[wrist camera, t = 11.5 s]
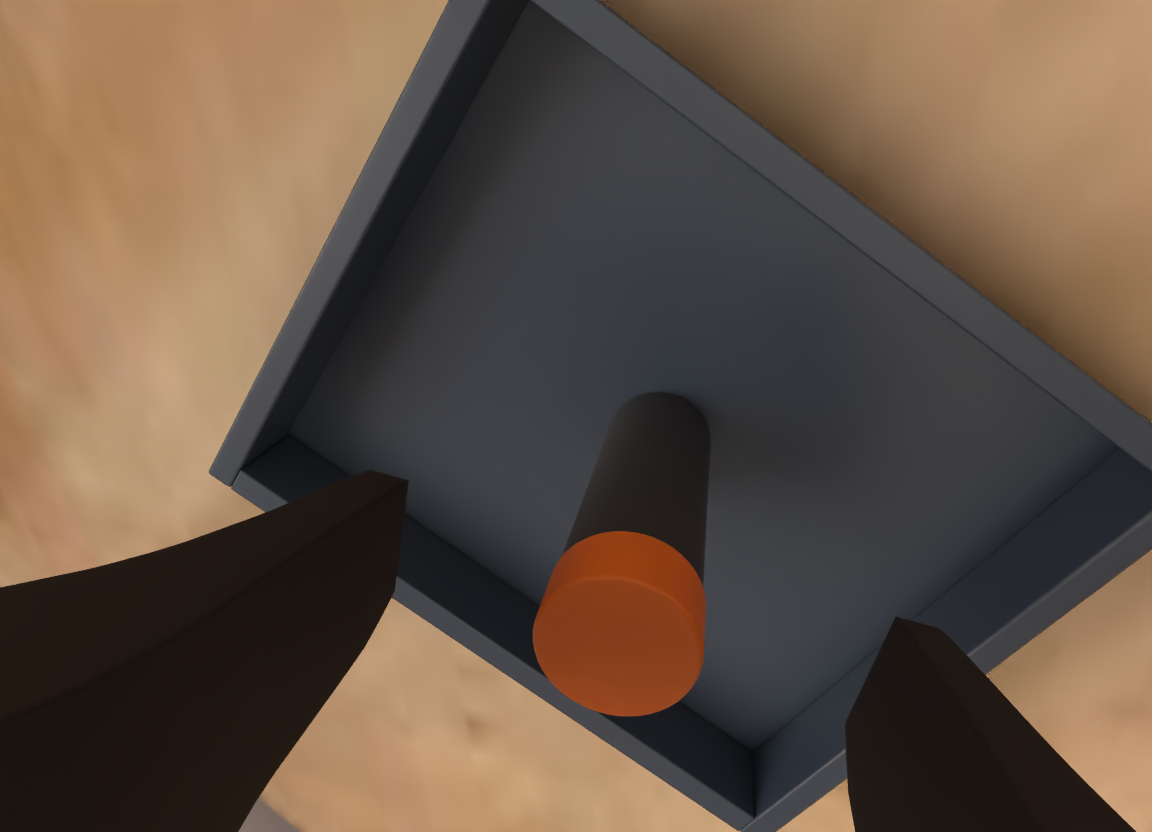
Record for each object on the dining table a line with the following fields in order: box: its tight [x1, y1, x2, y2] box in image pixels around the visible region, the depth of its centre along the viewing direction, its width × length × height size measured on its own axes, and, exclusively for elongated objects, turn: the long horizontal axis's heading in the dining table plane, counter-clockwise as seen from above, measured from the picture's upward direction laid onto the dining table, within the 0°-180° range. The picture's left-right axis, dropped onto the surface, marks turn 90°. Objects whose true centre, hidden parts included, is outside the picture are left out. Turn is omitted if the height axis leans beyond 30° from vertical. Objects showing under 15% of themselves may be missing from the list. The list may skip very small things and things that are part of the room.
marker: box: [533, 392, 711, 716], centre depth 13 cm, size 2×2×7 cm
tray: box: [209, 0, 1152, 832], centre depth 16 cm, size 15×12×2 cm
